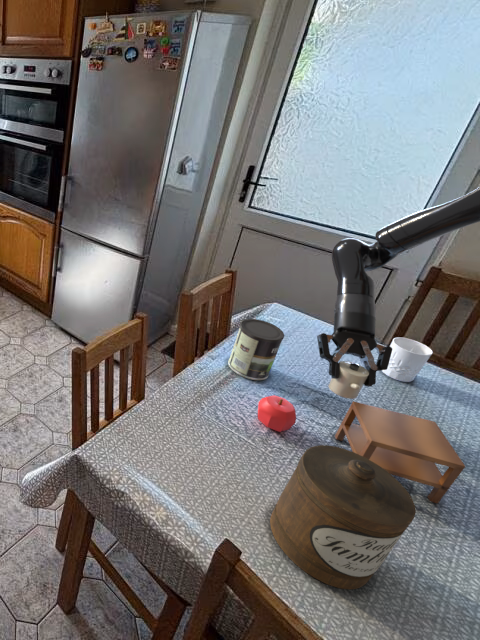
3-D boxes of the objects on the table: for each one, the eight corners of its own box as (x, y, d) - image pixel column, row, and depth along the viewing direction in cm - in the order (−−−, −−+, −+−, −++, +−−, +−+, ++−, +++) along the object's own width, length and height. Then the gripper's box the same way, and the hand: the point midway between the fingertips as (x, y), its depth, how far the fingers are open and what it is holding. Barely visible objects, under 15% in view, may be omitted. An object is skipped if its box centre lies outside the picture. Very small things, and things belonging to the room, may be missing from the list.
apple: (260, 406, 107) (270, 383, 104) (296, 426, 102) (307, 402, 98) (247, 420, 103) (256, 396, 100) (283, 442, 97) (294, 417, 94)
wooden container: (314, 595, 70) (367, 514, 60) (251, 509, 83) (287, 432, 73) (393, 585, 71) (458, 504, 61) (319, 502, 84) (362, 425, 75)
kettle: (325, 380, 105) (336, 355, 102) (353, 386, 103) (366, 361, 99) (334, 401, 98) (347, 375, 95) (364, 408, 96) (378, 382, 93)
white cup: (380, 376, 117) (395, 348, 112) (375, 361, 123) (390, 334, 118) (418, 387, 113) (436, 359, 108) (412, 371, 118) (428, 343, 114)
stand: (411, 457, 93) (435, 421, 88) (437, 503, 84) (465, 466, 79) (334, 435, 99) (352, 401, 94) (350, 477, 89) (371, 440, 84)
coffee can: (271, 367, 121) (287, 327, 115) (264, 386, 114) (281, 345, 108) (232, 352, 127) (245, 314, 121) (223, 369, 120) (236, 329, 114)
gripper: (325, 305, 102) (321, 372, 98) (401, 318, 97) (400, 390, 92) (312, 312, 109) (308, 375, 104) (383, 325, 103) (381, 392, 99)
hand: (351, 381), depth 98 cm, fingers closed on kettle, 5 cm apart
